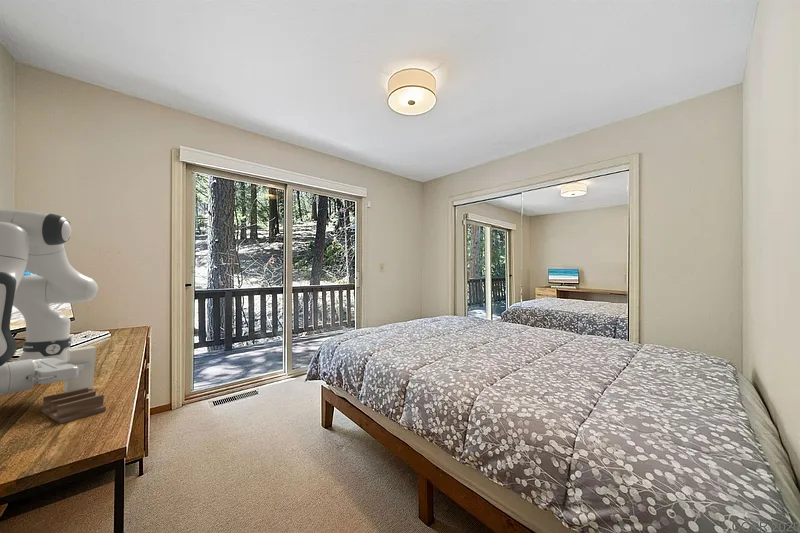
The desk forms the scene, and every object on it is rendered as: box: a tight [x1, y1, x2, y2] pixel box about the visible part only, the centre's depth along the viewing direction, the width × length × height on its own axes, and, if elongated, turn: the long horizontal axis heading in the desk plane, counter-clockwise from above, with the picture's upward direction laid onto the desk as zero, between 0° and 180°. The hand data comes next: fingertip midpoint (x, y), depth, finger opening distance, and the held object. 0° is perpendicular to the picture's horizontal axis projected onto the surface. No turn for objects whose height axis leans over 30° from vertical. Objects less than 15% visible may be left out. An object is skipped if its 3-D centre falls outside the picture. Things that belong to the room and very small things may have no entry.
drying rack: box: [39, 387, 107, 425], centre depth 86 cm, size 16×9×4 cm, turn 63°
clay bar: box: [63, 345, 97, 393], centre depth 99 cm, size 3×6×14 cm, turn 151°
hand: (87, 363), depth 100 cm, fingers open, 4 cm apart
